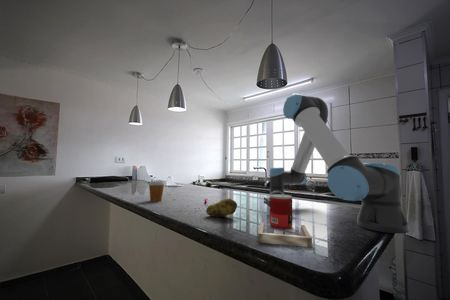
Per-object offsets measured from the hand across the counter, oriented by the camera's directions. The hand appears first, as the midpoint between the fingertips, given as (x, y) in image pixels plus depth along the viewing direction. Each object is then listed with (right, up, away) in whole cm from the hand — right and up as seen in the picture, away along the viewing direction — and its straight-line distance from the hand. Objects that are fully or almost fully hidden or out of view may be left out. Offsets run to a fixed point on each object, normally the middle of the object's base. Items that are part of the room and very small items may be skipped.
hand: (278, 207), depth 80 cm
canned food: (0, -6, -5) cm, 7 cm away
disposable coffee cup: (-63, -9, +45) cm, 78 cm away
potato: (-22, -6, +7) cm, 24 cm away
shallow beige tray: (-3, -4, -16) cm, 17 cm away
